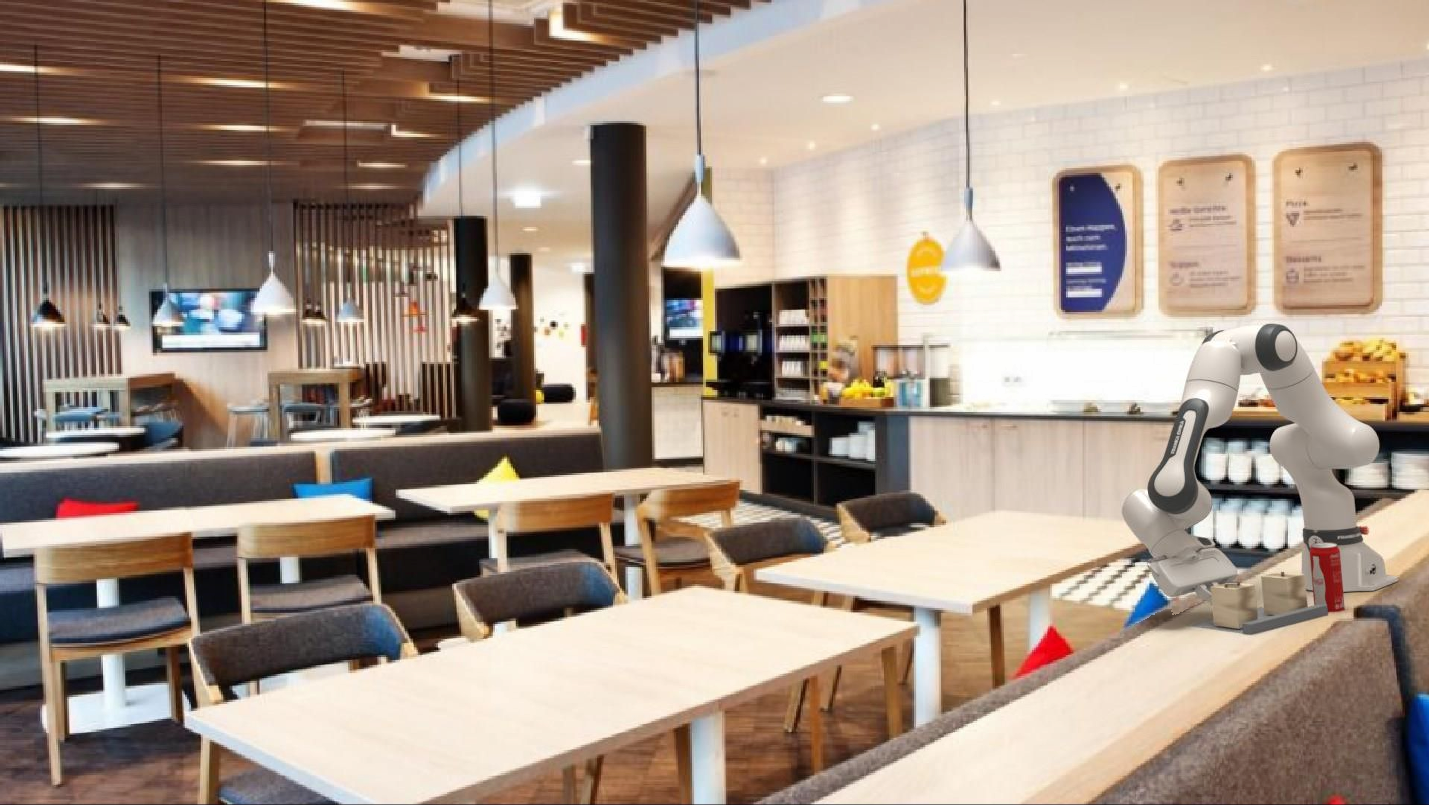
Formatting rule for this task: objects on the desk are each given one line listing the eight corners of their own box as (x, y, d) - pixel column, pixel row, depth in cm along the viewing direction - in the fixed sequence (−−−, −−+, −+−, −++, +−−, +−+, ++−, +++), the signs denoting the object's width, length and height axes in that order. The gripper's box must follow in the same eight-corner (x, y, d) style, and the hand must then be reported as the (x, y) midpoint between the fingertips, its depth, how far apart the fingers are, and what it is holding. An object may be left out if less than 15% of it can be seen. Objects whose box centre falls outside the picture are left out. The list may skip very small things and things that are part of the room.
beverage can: (1338, 610, 260) (1332, 540, 260) (1351, 616, 254) (1344, 544, 254) (1309, 612, 261) (1303, 543, 261) (1321, 618, 254) (1315, 546, 254)
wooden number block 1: (1282, 609, 260) (1279, 570, 260) (1308, 612, 255) (1304, 572, 255) (1264, 613, 258) (1260, 574, 258) (1289, 617, 252) (1286, 576, 252)
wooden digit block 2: (1233, 620, 254) (1229, 580, 254) (1258, 623, 249) (1254, 583, 249) (1214, 625, 251) (1210, 584, 251) (1238, 628, 246) (1235, 587, 246)
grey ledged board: (1261, 611, 266) (1259, 597, 266) (1328, 619, 252) (1327, 605, 252) (1186, 630, 255) (1184, 615, 255) (1252, 639, 241) (1250, 624, 241)
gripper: (1150, 550, 255) (1193, 601, 246) (1216, 537, 264) (1259, 586, 256) (1135, 570, 259) (1177, 621, 250) (1201, 556, 268) (1243, 605, 260)
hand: (1219, 603), depth 253 cm, fingers closed, pressing on wooden digit block 2
